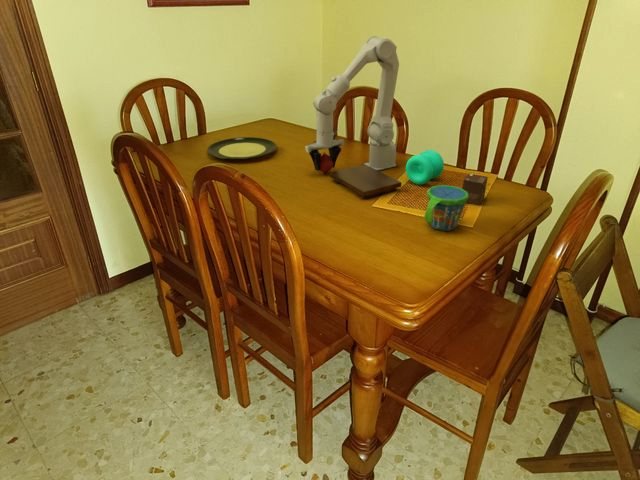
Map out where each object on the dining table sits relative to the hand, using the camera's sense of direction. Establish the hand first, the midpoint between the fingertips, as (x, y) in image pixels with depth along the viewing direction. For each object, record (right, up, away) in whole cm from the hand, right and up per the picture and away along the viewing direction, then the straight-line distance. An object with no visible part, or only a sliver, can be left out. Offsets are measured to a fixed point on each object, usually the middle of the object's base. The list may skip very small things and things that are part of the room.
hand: (324, 168), depth 160 cm
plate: (-33, +10, +23) cm, 41 cm away
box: (+46, -13, -20) cm, 52 cm away
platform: (+13, -7, -9) cm, 18 cm away
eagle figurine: (+5, +18, +31) cm, 36 cm away
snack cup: (+33, -22, -35) cm, 53 cm away
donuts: (+34, -6, -6) cm, 35 cm away
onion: (0, -2, +1) cm, 2 cm away
